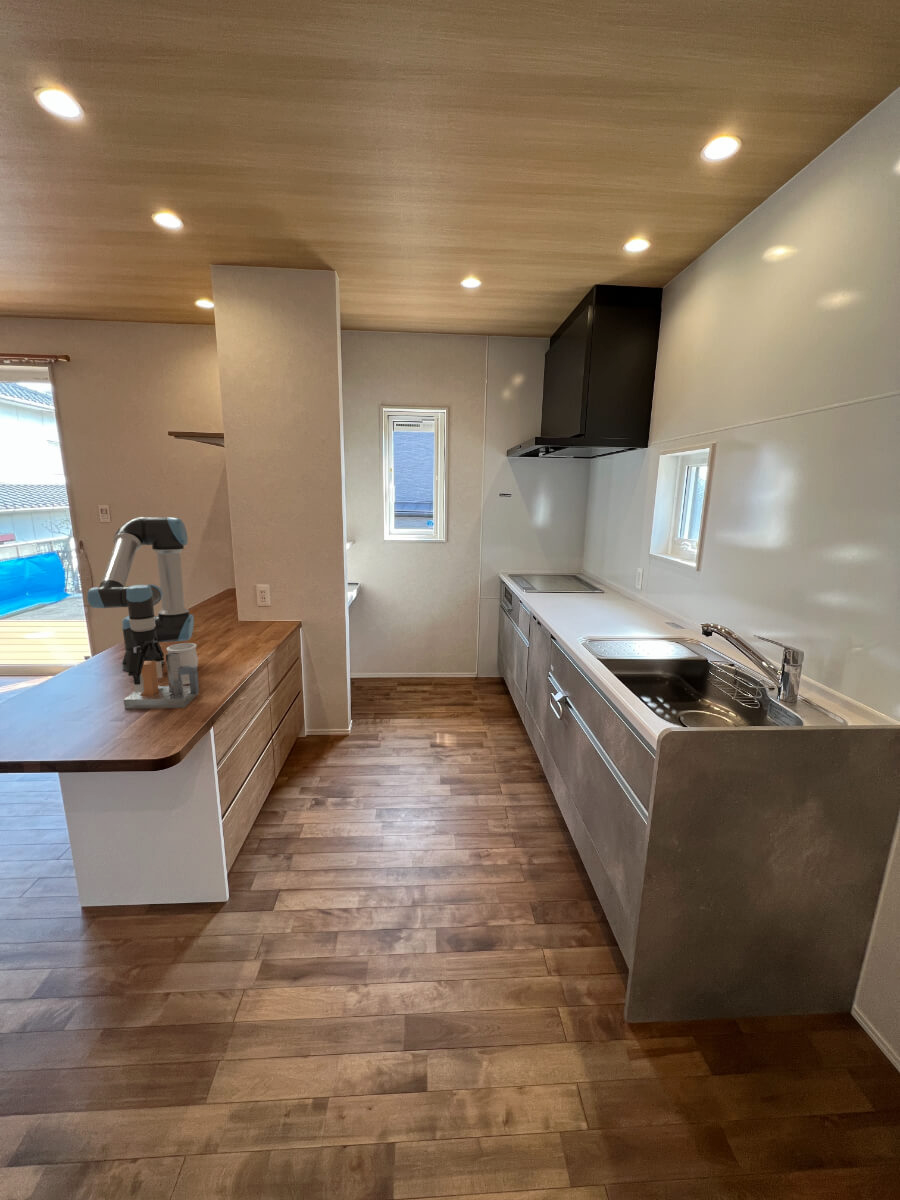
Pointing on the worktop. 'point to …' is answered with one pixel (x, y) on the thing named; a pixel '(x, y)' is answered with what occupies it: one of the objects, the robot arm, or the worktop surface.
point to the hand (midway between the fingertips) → (149, 684)
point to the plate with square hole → (169, 688)
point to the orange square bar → (150, 678)
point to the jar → (185, 656)
